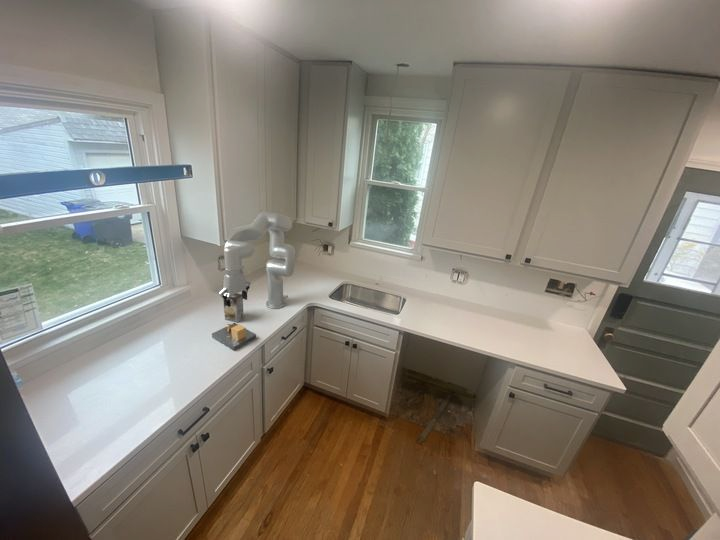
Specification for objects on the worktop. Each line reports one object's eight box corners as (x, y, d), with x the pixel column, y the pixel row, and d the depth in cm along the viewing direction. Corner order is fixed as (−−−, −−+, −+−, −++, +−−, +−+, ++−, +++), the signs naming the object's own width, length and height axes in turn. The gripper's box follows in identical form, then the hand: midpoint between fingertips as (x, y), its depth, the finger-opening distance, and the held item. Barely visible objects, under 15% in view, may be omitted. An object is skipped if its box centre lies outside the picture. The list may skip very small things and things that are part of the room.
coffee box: (224, 319, 172) (222, 295, 167) (231, 314, 178) (229, 291, 172) (237, 323, 170) (235, 298, 164) (244, 317, 176) (243, 294, 170)
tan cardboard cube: (240, 332, 158) (239, 324, 156) (246, 336, 155) (245, 327, 153) (231, 337, 154) (231, 328, 152) (237, 340, 151) (237, 331, 149)
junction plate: (234, 326, 167) (234, 316, 165) (256, 338, 159) (255, 328, 156) (212, 337, 156) (210, 327, 153) (233, 350, 147) (232, 340, 145)
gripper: (244, 264, 149) (246, 294, 156) (212, 274, 135) (216, 306, 142) (254, 268, 146) (255, 298, 152) (223, 278, 132) (225, 311, 138)
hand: (236, 302), depth 147 cm, fingers open, 9 cm apart
